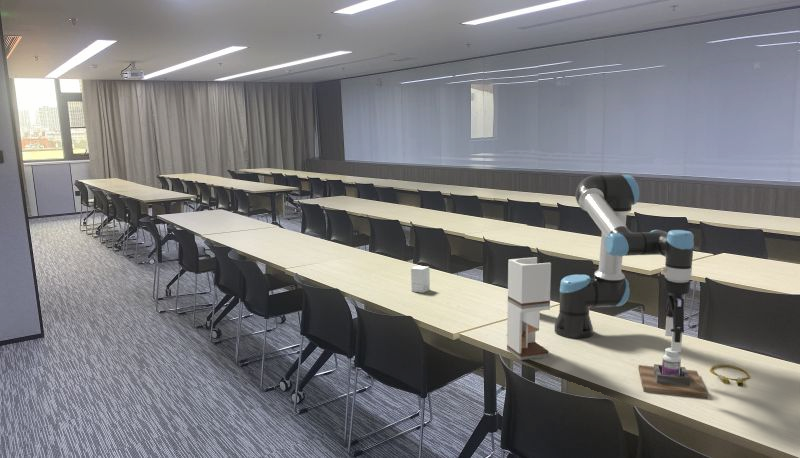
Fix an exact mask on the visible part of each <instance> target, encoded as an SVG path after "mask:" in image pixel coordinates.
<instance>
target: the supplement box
mask: <svg viewBox="0 0 800 458" xmlns="http://www.w3.org/2000/svg"><path fill="white" fill-rule="evenodd" d="M410 275H411V278H410V279H411V284H410V286H411V292H416V293H421V294H422V293H423V294H424V293H426V292H428V291H430V289H431V288H430V287H431V286H430V285H431V284H430V282H431V281H430V266H423V265H415V266H413V267H411V268H410Z"/></svg>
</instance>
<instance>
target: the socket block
mask: <svg viewBox="0 0 800 458" xmlns="http://www.w3.org/2000/svg"><path fill="white" fill-rule="evenodd" d="M638 373H639V378H640V382H641V383H640V384H641V386H642V390H643V392H647V393H653V394H654V393H655V394H663V395H673V396H682V397H683V396H684V397H691V398H701V399H708V392H707V390H706V387H705V386H704V383H703V381H702V379H701V377H700V375H699V372H698V371H697V370H694V369H693V370H691V369H686V367H684V366H680V376H673V375H663V374H662V364H655V363H654V364H653V366H651V365H641V364H638Z"/></svg>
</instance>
